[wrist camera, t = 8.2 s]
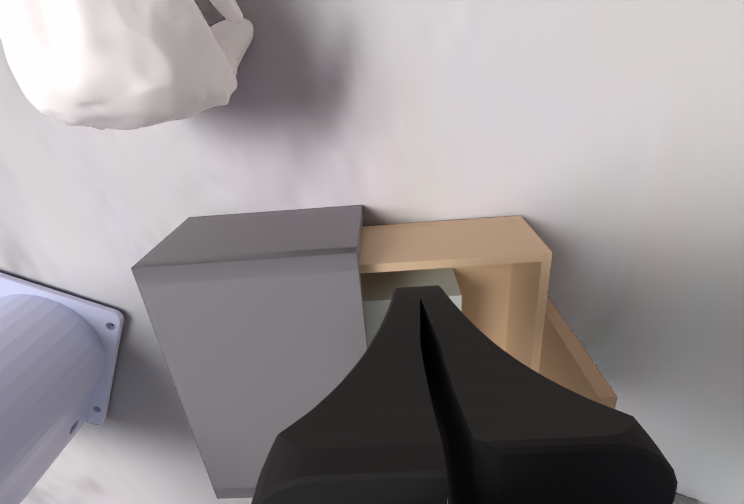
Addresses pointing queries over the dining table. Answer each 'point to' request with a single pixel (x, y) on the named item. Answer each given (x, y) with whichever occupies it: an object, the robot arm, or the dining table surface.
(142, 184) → the dining table surface
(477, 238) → the mailer tray
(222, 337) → the mailer sleeve
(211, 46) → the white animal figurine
